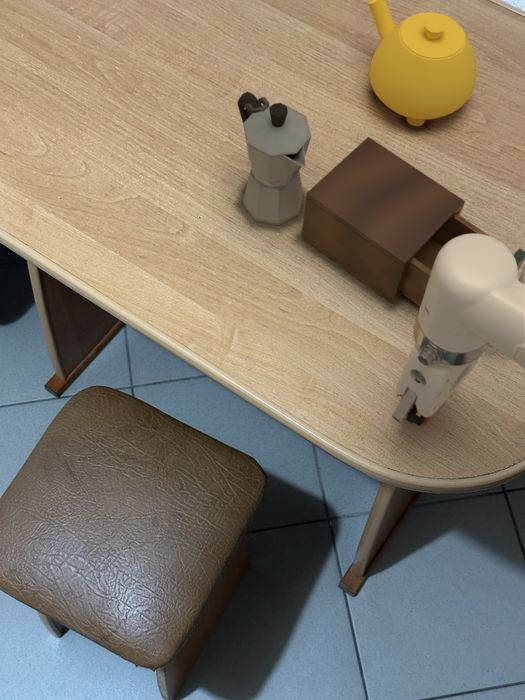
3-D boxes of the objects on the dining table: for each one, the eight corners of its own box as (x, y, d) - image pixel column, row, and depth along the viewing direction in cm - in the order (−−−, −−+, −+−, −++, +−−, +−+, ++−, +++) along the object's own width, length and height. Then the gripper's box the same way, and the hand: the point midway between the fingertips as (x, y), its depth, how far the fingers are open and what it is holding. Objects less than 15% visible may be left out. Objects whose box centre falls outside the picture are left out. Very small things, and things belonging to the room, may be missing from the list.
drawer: (537, 305, 110) (557, 273, 103) (487, 364, 106) (505, 334, 99) (421, 225, 116) (433, 189, 109) (369, 278, 111) (378, 244, 104)
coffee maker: (323, 218, 117) (337, 129, 101) (270, 245, 115) (276, 158, 99) (266, 147, 122) (270, 52, 106) (214, 172, 120) (211, 78, 104)
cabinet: (448, 245, 115) (465, 201, 107) (392, 304, 111) (405, 263, 102) (358, 183, 120) (368, 136, 111) (301, 237, 115) (306, 192, 107)
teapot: (326, 71, 130) (335, -3, 118) (399, 28, 135) (415, -47, 122) (414, 151, 123) (434, 81, 111) (488, 103, 128) (515, 31, 115)
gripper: (433, 407, 81) (405, 473, 97) (529, 297, 87) (487, 375, 103) (372, 362, 83) (354, 433, 99) (469, 257, 89) (437, 340, 105)
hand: (422, 403), depth 101 cm, fingers closed on block, 4 cm apart
